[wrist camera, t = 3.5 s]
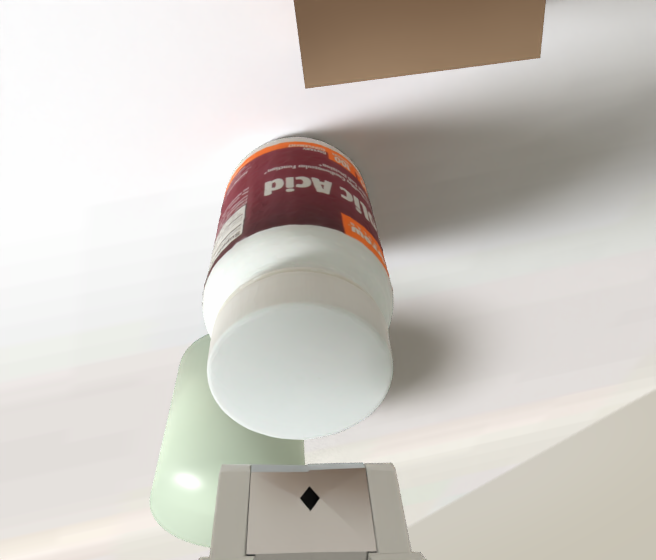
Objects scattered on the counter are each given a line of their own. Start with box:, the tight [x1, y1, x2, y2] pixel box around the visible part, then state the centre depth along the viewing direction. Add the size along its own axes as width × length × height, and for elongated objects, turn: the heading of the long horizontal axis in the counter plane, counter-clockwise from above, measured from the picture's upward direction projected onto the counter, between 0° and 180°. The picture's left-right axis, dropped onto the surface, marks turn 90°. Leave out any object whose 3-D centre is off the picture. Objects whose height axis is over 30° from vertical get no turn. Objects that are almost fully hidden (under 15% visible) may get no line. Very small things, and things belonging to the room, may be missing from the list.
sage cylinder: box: [150, 334, 305, 548], centre depth 21 cm, size 5×5×6 cm
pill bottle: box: [202, 137, 393, 440], centre depth 15 cm, size 5×5×8 cm
